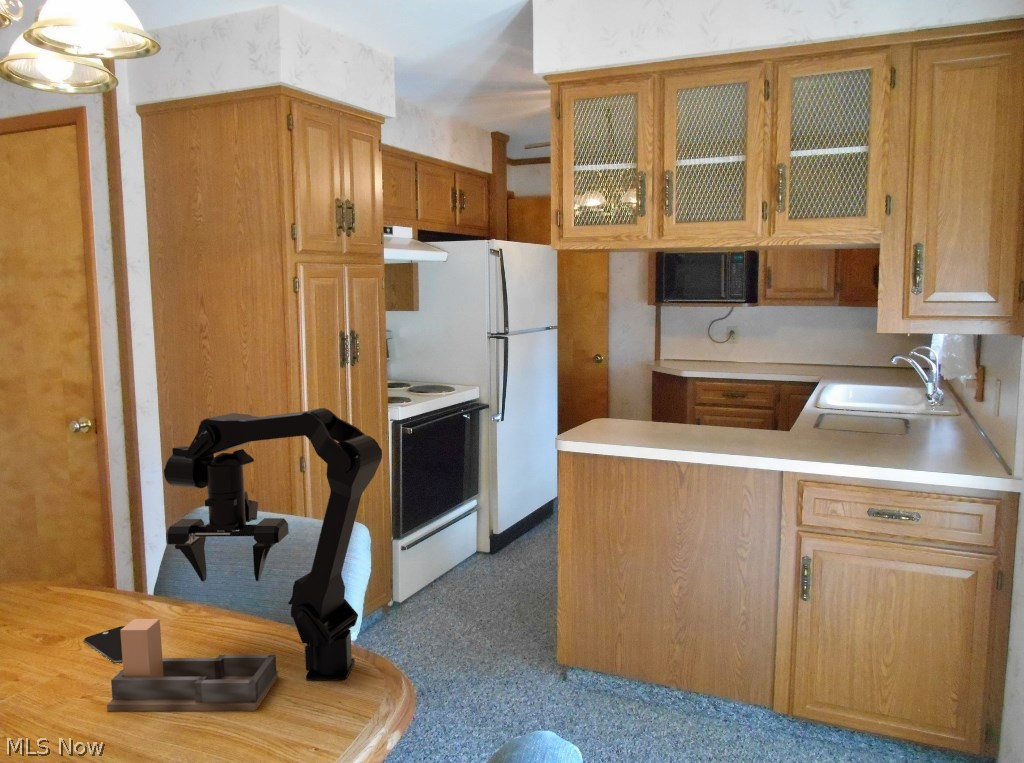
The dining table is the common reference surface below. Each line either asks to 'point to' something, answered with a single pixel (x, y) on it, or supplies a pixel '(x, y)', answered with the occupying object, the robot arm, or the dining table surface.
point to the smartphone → (107, 644)
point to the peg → (142, 648)
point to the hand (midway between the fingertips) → (231, 580)
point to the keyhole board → (198, 685)
